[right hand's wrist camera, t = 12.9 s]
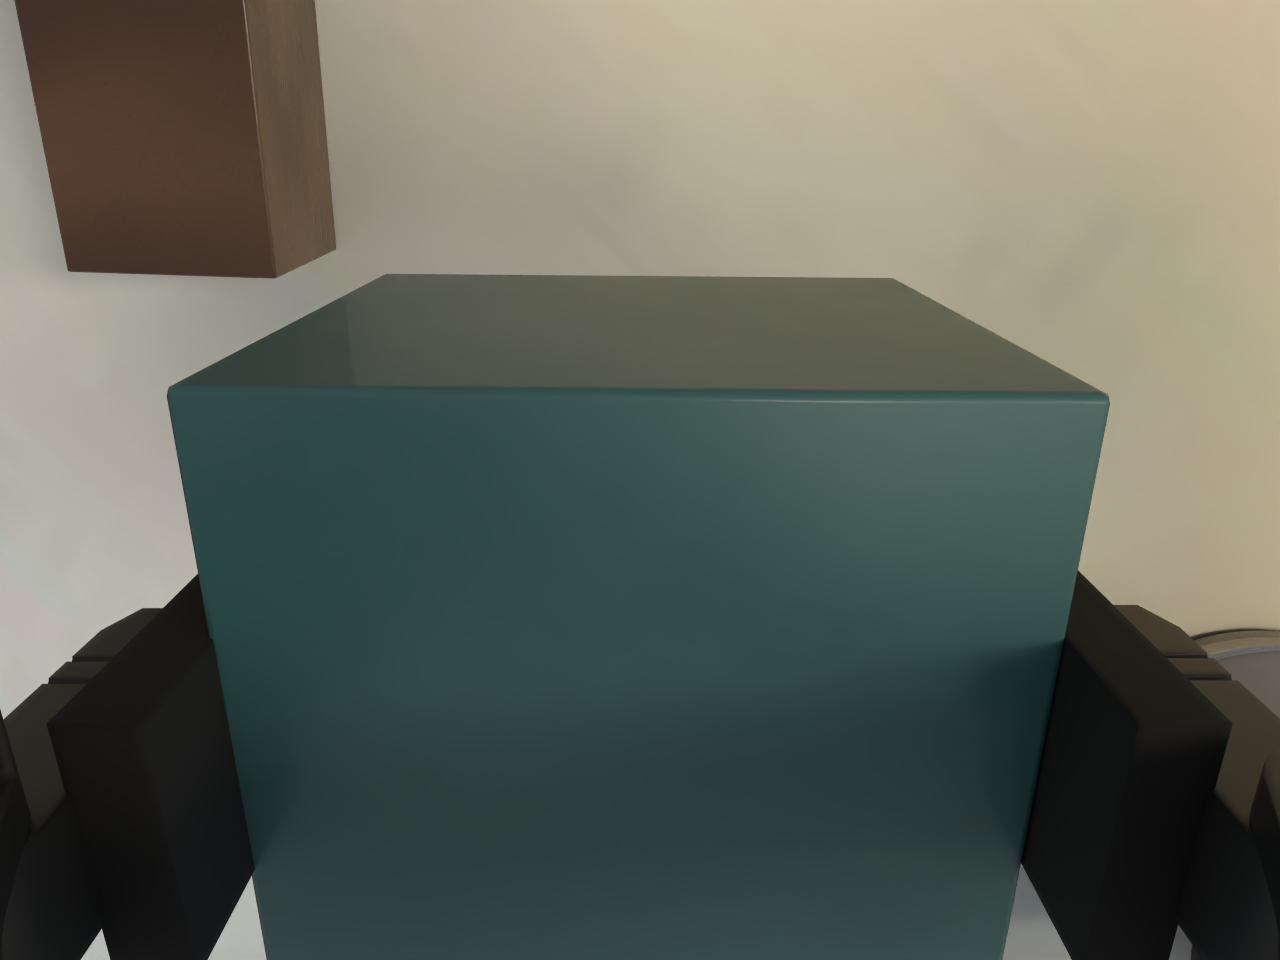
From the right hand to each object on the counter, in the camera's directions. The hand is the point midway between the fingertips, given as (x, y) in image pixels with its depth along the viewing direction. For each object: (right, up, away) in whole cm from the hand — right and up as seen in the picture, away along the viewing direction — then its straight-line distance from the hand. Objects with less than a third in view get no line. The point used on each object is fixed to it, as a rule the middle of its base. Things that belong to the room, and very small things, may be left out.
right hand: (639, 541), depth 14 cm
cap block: (0, +1, +2) cm, 2 cm away
